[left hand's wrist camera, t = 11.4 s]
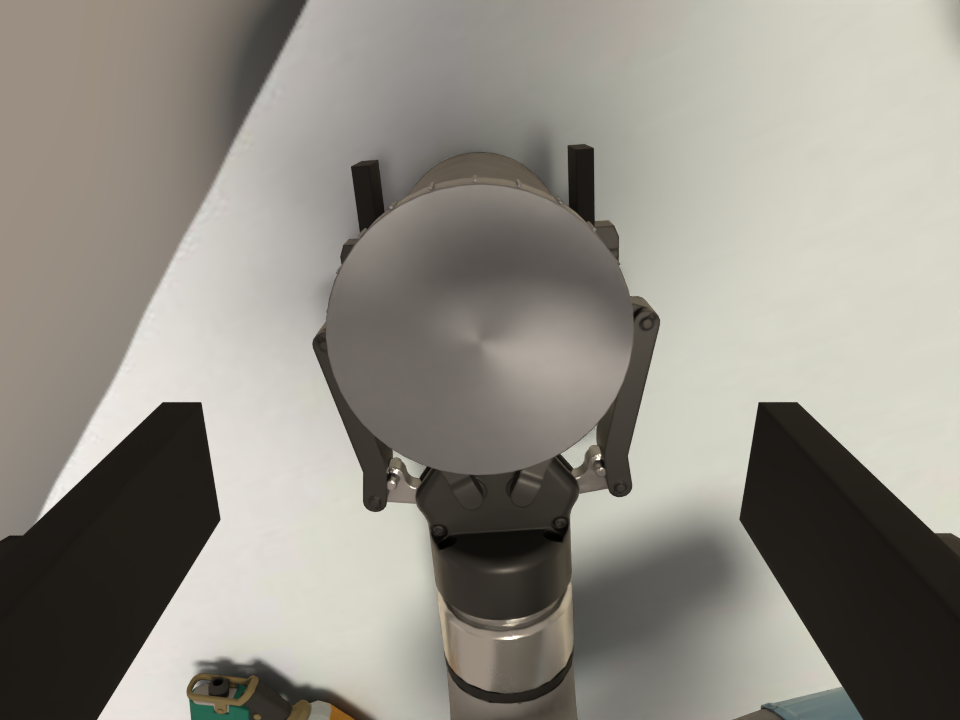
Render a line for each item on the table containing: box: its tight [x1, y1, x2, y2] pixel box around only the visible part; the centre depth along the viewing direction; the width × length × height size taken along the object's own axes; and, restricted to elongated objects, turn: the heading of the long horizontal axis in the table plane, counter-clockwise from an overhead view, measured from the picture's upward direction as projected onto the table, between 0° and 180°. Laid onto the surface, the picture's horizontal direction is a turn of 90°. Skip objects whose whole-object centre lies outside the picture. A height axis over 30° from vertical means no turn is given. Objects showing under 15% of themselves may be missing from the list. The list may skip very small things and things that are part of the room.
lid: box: [326, 175, 634, 475], centre depth 21 cm, size 10×10×2 cm
